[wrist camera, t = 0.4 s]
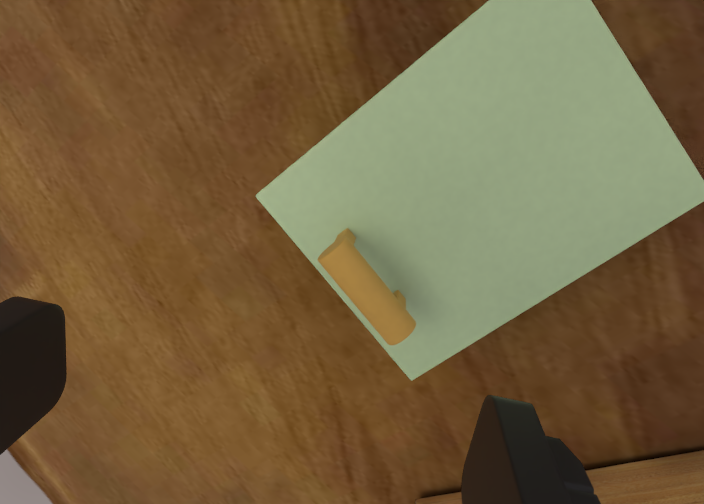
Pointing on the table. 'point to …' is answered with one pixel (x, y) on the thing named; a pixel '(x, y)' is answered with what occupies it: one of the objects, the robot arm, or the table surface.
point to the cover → (485, 179)
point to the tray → (636, 482)
